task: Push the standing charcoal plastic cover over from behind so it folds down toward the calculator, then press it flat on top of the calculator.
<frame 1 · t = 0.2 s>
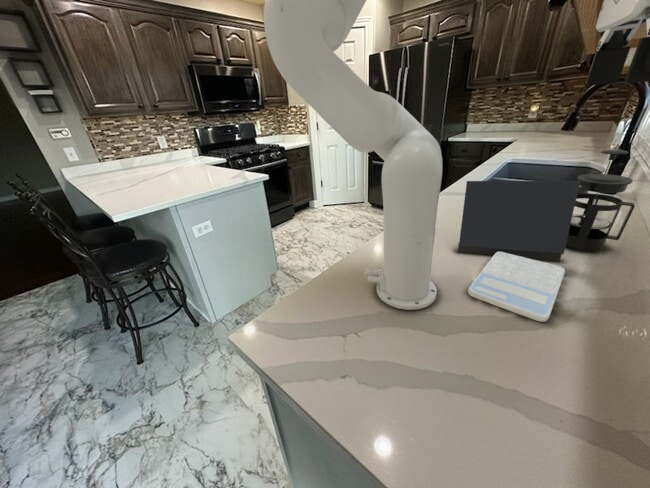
hand: (620, 82, 32), 37 cm above the counter, tool pointing down, fingers open, 9 cm apart
cover: (513, 216, 62), point 10 cm above the counter, hinge at 105.0°
hinge strip: (505, 257, 65), on the counter
calculator: (515, 285, 56), on the counter
french press: (580, 244, 67), on the counter
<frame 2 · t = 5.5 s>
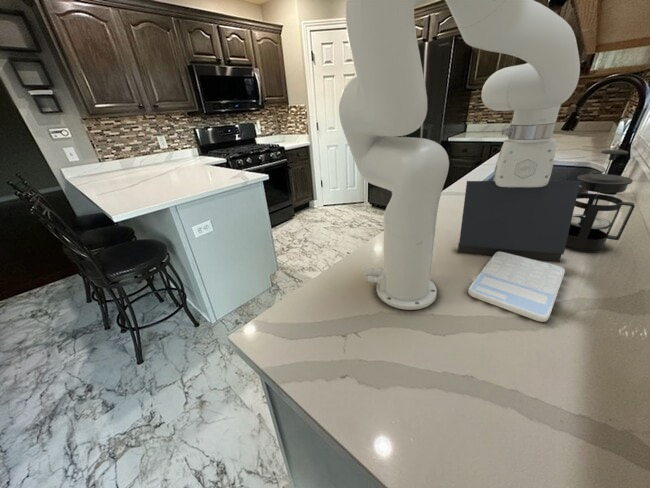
hand: (510, 212, 64), 10 cm above the counter, tool pointing down, fingers closed
cover: (513, 216, 62), point 10 cm above the counter, hinge at 104.5°, touching gripper
everything else where it was.
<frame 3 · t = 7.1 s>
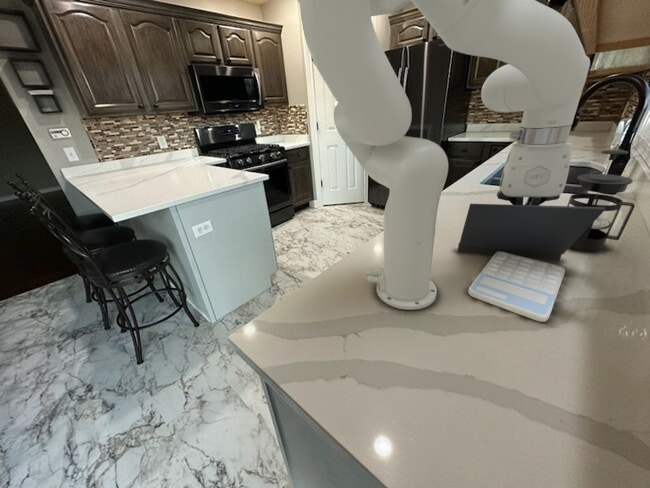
hand: (519, 224, 58), 10 cm above the counter, tool pointing down, fingers closed
cover: (518, 230, 57), point 9 cm above the counter, hinge at 59.9°, touching gripper
everything else where it was.
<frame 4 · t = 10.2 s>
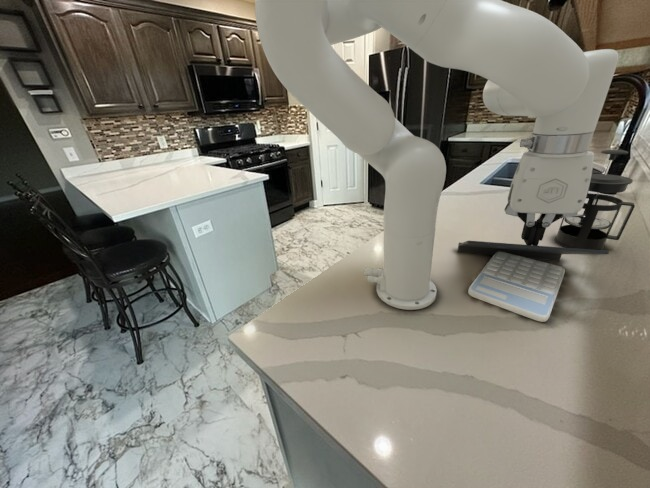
hand: (530, 242, 51), 10 cm above the counter, tool pointing down, fingers closed
cover: (518, 247, 56), point 6 cm above the counter, hinge at 30.2°, touching gripper
everything else where it was.
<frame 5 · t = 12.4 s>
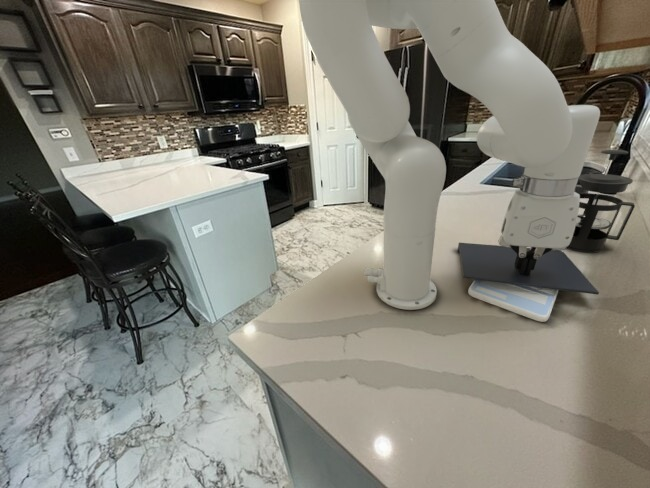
hand: (522, 271, 54), 3 cm above the counter, tool pointing down, fingers closed
cover: (515, 264, 57), point 3 cm above the counter, hinge at 3.0°, touching gripper
everything else where it was.
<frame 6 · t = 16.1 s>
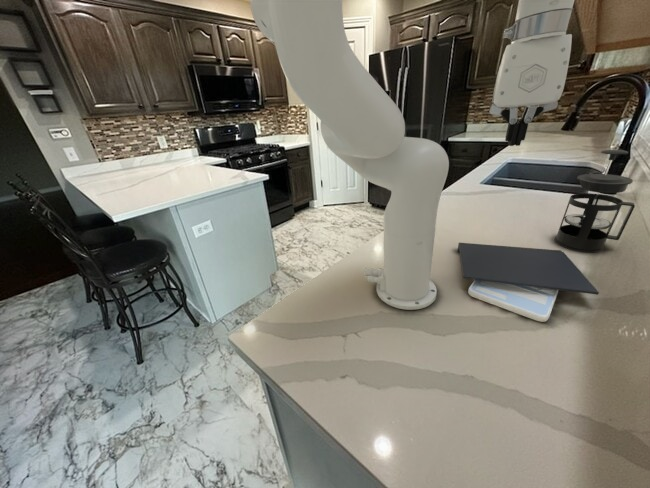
hand: (513, 144, 53), 27 cm above the counter, tool pointing down, fingers closed
cover: (515, 264, 57), point 3 cm above the counter, hinge at 2.9°
everything else where it was.
at the end: cover at +3° (first picture: +105°); calculator moved 0.2 cm from its start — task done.
